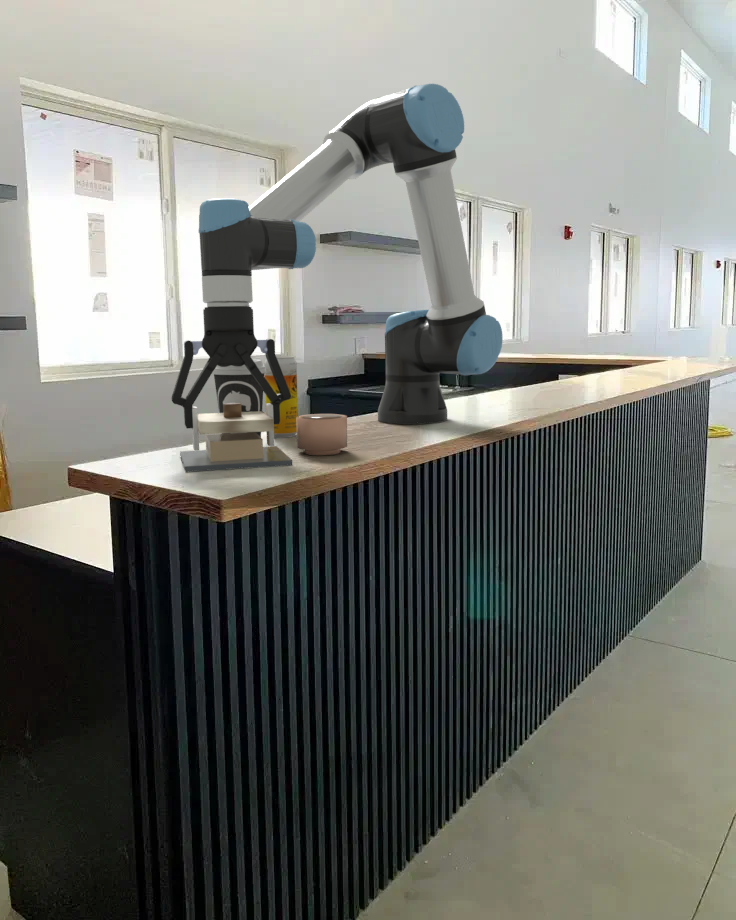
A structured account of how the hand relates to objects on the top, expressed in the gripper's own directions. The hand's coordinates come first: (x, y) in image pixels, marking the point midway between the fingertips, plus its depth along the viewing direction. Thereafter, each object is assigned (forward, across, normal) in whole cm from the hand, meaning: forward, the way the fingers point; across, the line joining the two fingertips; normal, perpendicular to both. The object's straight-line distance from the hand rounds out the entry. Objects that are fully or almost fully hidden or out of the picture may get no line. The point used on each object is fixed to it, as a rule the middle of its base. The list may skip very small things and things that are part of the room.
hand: (233, 446), depth 124 cm
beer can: (+2, -12, -24) cm, 27 cm away
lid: (-3, 0, 0) cm, 3 cm away
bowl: (+2, -15, -3) cm, 15 cm away
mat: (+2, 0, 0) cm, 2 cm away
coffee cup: (+2, -3, -14) cm, 15 cm away
